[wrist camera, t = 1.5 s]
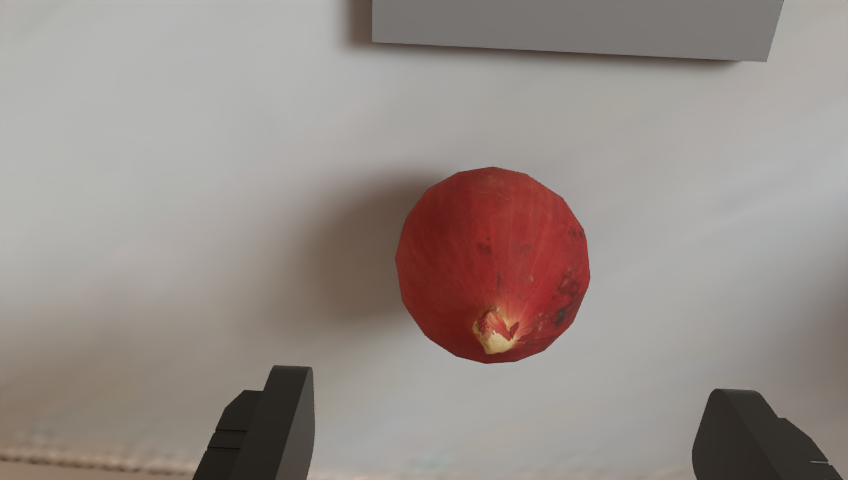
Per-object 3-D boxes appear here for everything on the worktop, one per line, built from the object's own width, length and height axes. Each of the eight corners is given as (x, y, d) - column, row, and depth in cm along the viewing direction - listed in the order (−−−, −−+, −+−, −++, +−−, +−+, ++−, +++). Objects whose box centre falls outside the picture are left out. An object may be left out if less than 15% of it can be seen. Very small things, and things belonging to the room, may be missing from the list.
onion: (587, 160, 21) (664, 271, 13) (536, 299, 23) (578, 455, 16) (424, 121, 20) (413, 213, 13) (388, 267, 23) (364, 412, 16)
